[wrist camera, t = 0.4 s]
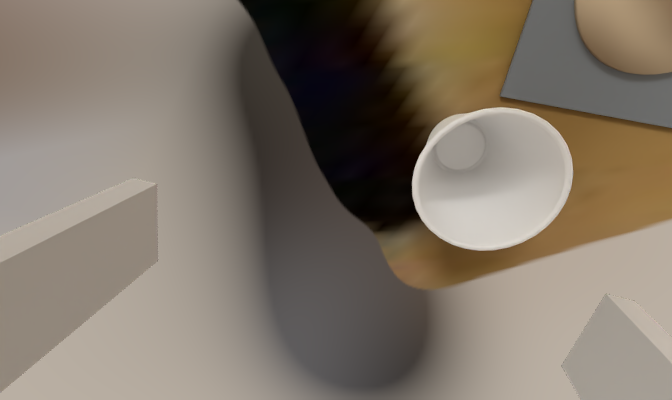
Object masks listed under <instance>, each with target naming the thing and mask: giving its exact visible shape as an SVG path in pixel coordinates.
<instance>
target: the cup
mask: <svg viewBox="0 0 672 400" xmlns="http://www.w3.org/2000/svg"><path fill="white" fill-rule="evenodd" d="M572 179H573V165H572V157H571V154H570V151H569V149H568V146H567V144H566V142H565V141H564V139H563V138H562V136H561V135H560V133H559V132H558V131H557V130H556V129H555V128H554V127H553V126H552V125H551V124H550V123H549V122H547V121H546V120H544V119H542V118H540V117H539V116H537V115H535V114H533V113H530V112H526V111H523V110H520V109H514V108H504V107H498V108H488V109H482V110H478V111H475V112H471V113H465V114H456V115H453V116H450V117H448V118H446V119H444V120H442V121H441V122H440V123H438V124H437V126H436V127H435V128H434V129H433V130H432V132H431V133H430V136H429V138H428V141H427V143H426V146H425V148H424V149H423V151H422V152H421V154H420V156H419V158H418V161H417V163H416V166H415V168H414V173H413V179H412V196H413V200H414V204H415V207H416V210H417V212H418V214H419V216H420V218H421V220H422V221H423V222H424V223H425V225H426V226H427V227H428V228H429V230H431V231H432V232H433V233H434V234H435V235H437V236H438V237H439V238H441V239H443V240H444V241H446V242H448V243H450V244H452V245H455V246H458V247H461V248H464V249H471V250H478V251H486V250H498V249H503V248H508V247H511V246H514V245H517V244H520V243H522V242H524V241H526V240H528V239H530V238H532V237H534V236H535V235H537V234H538V233H539V232H541V231H542V230H543V229H544V228H546V227H547V226H548V225H549V224H550V223H551V222H552V221H553V220H554V219H555V217H556V216H557V215H558V214H559V212H560V211H561V209H562V207H563V206H564V204H565V203H566V200H567V198H568V195H569V192H570V190H571V186H572Z"/></svg>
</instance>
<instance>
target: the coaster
mask: <svg viewBox="0 0 672 400" xmlns="http://www.w3.org/2000/svg"><path fill="white" fill-rule="evenodd" d="M574 13H575V21H576V26H577V29H578V32H579V35H580V38H581V39H582V41H583V43H584V45H585V47H586V48H587V49H588V50H589V52H590V53H591V54H592V55H593V56H594V57H595V58H596V59H598V60H599V61H600V62H602V63H603V64H605V65H606V66H608V67H611V68H613V69H615V70H618V71H622V72H626V73H632V74H643V75H649V74H662V73H669V72H672V0H574Z"/></svg>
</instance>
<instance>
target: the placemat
mask: <svg viewBox="0 0 672 400" xmlns="http://www.w3.org/2000/svg"><path fill="white" fill-rule="evenodd" d="M500 96H501V97H506V98H512V99H517V100H523V101H528V102H533V103H539V104H544V105H550V106H555V107H561V108H566V109H571V110H577V111H582V112H588V113H593V114H598V115H604V116H609V117H615V118H620V119H626V120H631V121H636V122H642V123H647V124H653V125H658V126H663V127H669V128H672V72H669V73H662V74H649V75H643V74H632V73H626V72H622V71H618V70H615V69H613V68H611V67H608V66H606V65H605V64H603V63H602V62H600V61H599V60H598V59H596V58H595V57H594V56H593V55H592V54H591V53H590V52H589V50H588V49H587V48H586V47H585V45H584V43H583V41H582V39H581V38H580V35H579V32H578V29H577V26H576V21H575V13H574V0H533V1H532V4H531V7H530V9H529V12H528V15H527V18H526V21H525V24H524V27H523V30H522V33H521V35H520V38H519V41H518V44H517V47H516V50H515V53H514V56H513V59H512V62H511V64H510V67H509V70H508V73H507V76H506V79H505V82H504V85H503V88H502V90H501V93H500Z"/></svg>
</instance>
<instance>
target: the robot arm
mask: <svg viewBox="0 0 672 400" xmlns="http://www.w3.org/2000/svg"><path fill="white" fill-rule="evenodd" d="M157 227H158V226H157V184H156V183H152V182H148V181H144V180H140V179H135V178H132V179H129V180H127V181H125V182H123V183H120V184H118V185H116V186H113V187H111V188H109V189H107V190H104V191H102V192H100V193H97V194H95V195H93V196H90V197H88V198H86V199H83V200H81V201H79V202H77V203H74V204H72V205H70V206H67V207H65V208H63V209H60V210H58V211H56V212H54V213H51V214H49V215H47V216H44V217H42V218H40V219H38V220H35V221H33V222H31V223H29V224H26V225H24V226H21V227H19V228H17V229H15V230H12V231H10V232H7V233H5V234H3V235H1V236H0V392H2V391H3V390H4V389H5V388H6V387H7V386H9V385H10V384H11V383H12V382H14V381H15V380H16V379H17V378H18V377H19V376H21V375H22V374H23V373H24V372H25V371H27V370H28V369H29V368H30V367H31V366H33V365H34V364H35V363H36V362H37V361H39V360H40V359H41V358H42V357H44V356H45V355H46V354H47V353H48V352H49V351H51V350H52V349H53V348H54V347H55V346H57V345H58V344H59V343H60V342H61V341H63V340H64V339H65V338H66V337H67V336H69V335H70V334H71V333H72V332H73V331H75V329H77V328H78V327H79V326H81V325H82V324H83V323H84V322H85V321H86V320H88V319H89V318H90V317H91V316H92V315H94V314H95V313H96V312H97V311H98V310H100V309H101V308H102V307H103V306H104V305H106V303H108V302H109V301H110V300H112V299H113V298H114V297H115V296H116V295H118V294H119V293H120V292H121V291H122V290H124V289H125V288H126V287H127V286H128V285H130V284H131V283H132V282H133V281H134V280H135V279H137V278H138V277H139V276H140V275H141V274H143V273H144V272H145V271H146V270H147V269H148V268H150V267H151V266H152V265H153V264H155V263H156V262H157V261H158V237H157V236H158V233H157V232H158V230H157ZM561 366H562V368H563V370H564V371H565V373H566V375H567V377H568V379H569V380H570V382H571V384H572V386H573V387H574V389H575V391H576V393H577V394H578V396H579V398H580V400H672V336H671V335H670V334H669V333H668V332H666V330H664V329H663V328H662V327H661V326H660V325H659V324H658V323H657V322H656V321H655V320H654V319H653V318H652V317H651V316H650V315H649V314H648V313H647V312H646V311H645V310H644V309H643V308H642V307H641V306H640V305H638V304H637V303H636V302H635V301H634V300H630V299H626V298H622V297H618V296H614V295H610V294H605V296H604V297H603V299H602V300H601V302H600V304H599V305H598V307H597V309H596V310H595V312H594V313H593V315H592V317H591V319H590V320H589V322H588V323H587V325H586V326H585V328H584V330H583V331H582V333H581V335H580V336H579V338H578V340H577V341H576V343H575V344H574V346H573V348H572V349H571V351H570V352H569V354H568V356H567V357H566V359H565V361H564V362H563V364H562V365H561Z"/></svg>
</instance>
